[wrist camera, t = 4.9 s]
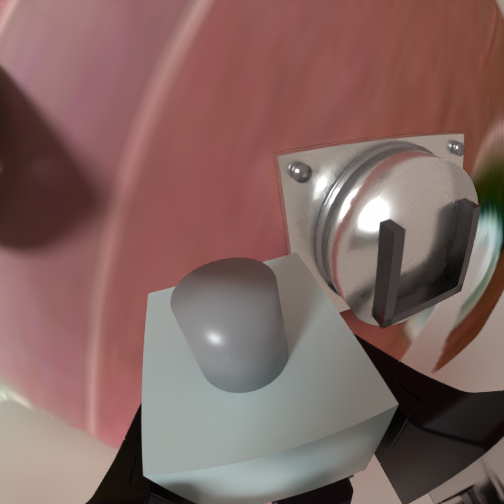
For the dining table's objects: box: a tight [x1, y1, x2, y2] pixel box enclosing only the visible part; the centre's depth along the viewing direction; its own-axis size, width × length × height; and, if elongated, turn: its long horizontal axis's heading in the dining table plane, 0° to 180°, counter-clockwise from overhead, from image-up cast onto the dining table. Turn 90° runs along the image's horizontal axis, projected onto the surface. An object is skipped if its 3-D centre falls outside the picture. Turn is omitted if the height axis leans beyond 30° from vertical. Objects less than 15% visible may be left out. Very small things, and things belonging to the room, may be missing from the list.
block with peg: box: [142, 253, 398, 504], centre depth 8 cm, size 7×5×6 cm
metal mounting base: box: [273, 131, 480, 329], centre depth 19 cm, size 14×17×6 cm
